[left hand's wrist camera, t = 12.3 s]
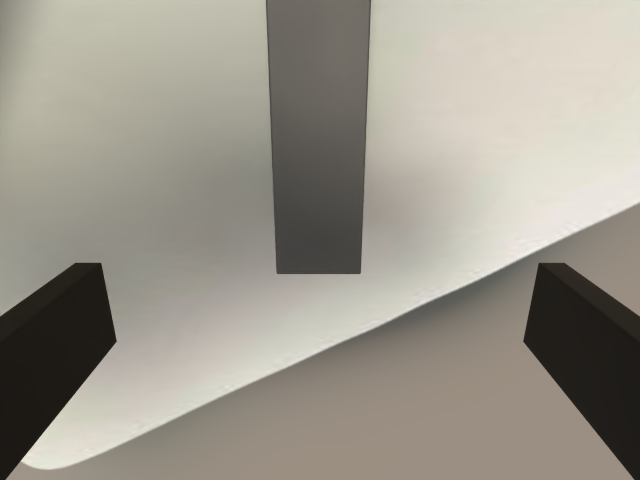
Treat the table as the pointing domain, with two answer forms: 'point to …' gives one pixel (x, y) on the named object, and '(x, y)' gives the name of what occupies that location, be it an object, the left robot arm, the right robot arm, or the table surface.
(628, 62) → the table surface
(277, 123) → the post
